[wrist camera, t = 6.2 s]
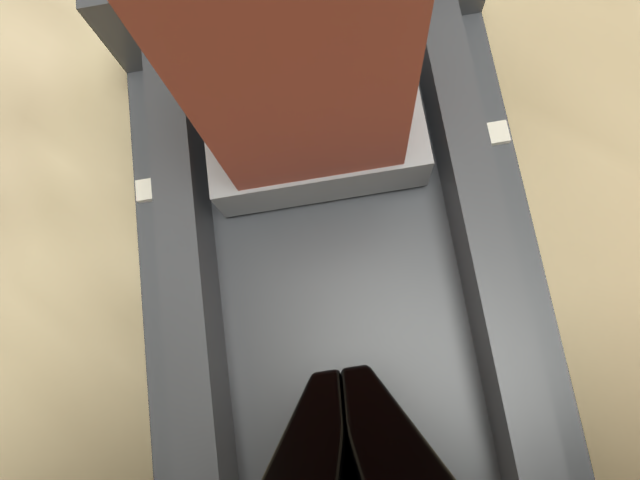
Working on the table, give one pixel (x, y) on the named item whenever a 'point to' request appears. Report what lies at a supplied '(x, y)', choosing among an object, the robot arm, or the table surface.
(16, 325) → the table surface
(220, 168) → the tall terracotta column
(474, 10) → the track housing
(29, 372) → the table surface
